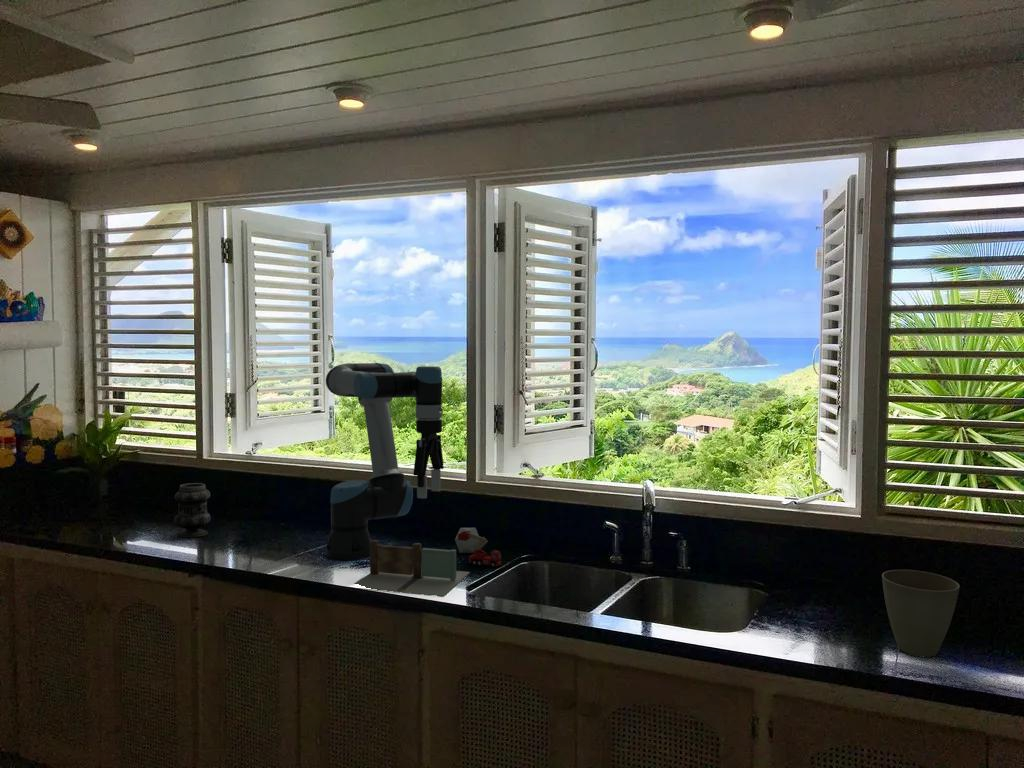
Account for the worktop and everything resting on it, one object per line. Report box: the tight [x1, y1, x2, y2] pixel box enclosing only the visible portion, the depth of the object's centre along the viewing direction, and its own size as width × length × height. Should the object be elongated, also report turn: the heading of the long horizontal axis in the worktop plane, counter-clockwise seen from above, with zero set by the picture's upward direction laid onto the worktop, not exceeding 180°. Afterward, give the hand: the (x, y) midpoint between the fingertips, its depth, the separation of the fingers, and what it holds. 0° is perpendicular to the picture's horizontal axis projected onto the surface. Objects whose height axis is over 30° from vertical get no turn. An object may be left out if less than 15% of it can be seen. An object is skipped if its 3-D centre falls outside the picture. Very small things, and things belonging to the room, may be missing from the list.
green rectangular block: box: [421, 547, 457, 581], centre depth 210 cm, size 10×2×8 cm, turn 75°
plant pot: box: [881, 569, 961, 658], centre depth 161 cm, size 15×15×16 cm
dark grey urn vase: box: [173, 482, 211, 539], centre depth 262 cm, size 12×12×18 cm
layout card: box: [353, 570, 471, 597], centre depth 210 cm, size 28×22×1 cm
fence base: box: [369, 539, 423, 578], centre depth 214 cm, size 16×2×10 cm, turn 75°
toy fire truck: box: [457, 531, 502, 568], centre depth 227 cm, size 3×14×10 cm, turn 71°
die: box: [454, 527, 480, 554], centre depth 241 cm, size 8×9×10 cm
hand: (429, 494), depth 215 cm, fingers open, 10 cm apart
